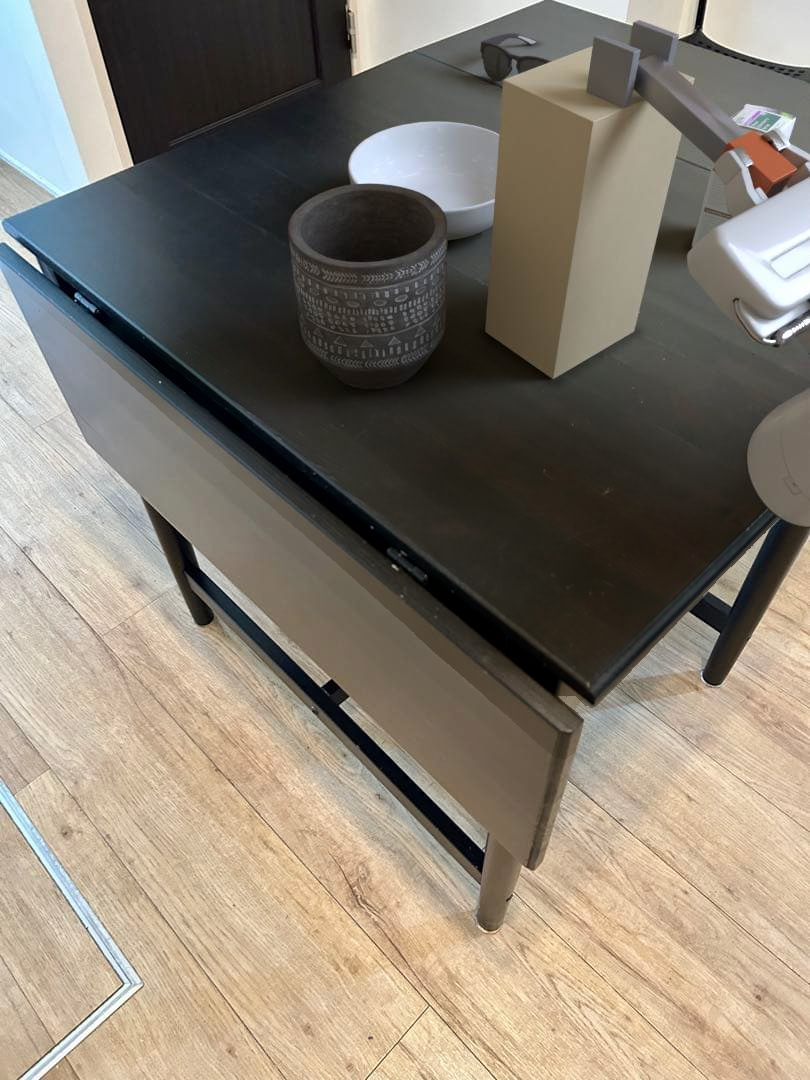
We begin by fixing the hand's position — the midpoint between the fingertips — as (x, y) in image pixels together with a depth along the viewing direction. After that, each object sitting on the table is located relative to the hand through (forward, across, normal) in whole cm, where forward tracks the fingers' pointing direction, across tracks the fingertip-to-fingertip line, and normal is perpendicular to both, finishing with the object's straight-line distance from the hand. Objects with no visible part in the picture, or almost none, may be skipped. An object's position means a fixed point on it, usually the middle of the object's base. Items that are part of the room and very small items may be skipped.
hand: (744, 145), depth 61 cm
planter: (+8, -18, -33) cm, 38 cm away
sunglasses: (+42, +45, -52) cm, 81 cm away
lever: (+3, 0, -3) cm, 4 cm away
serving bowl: (+23, +5, -41) cm, 48 cm away
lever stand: (0, 0, -29) cm, 29 cm away
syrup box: (0, +26, -28) cm, 39 cm away
